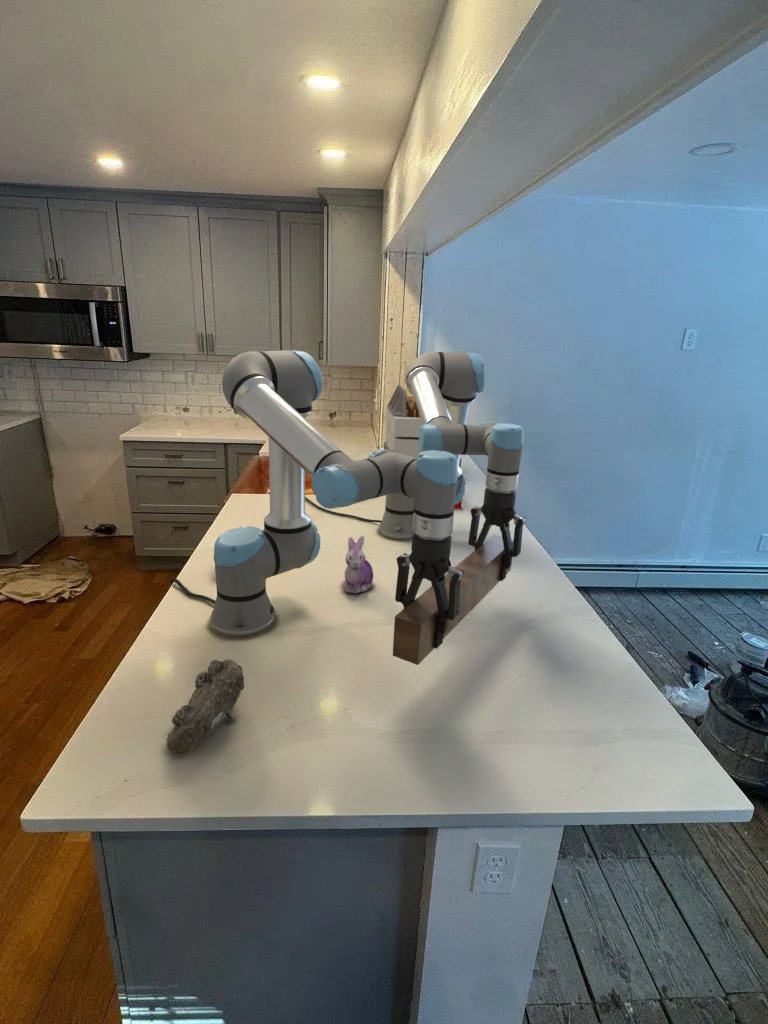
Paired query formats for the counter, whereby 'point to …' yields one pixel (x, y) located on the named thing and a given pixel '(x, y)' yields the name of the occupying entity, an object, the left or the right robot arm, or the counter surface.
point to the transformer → (403, 424)
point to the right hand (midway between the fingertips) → (490, 575)
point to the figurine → (357, 568)
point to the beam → (420, 615)
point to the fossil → (206, 705)
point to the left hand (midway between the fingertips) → (423, 639)
